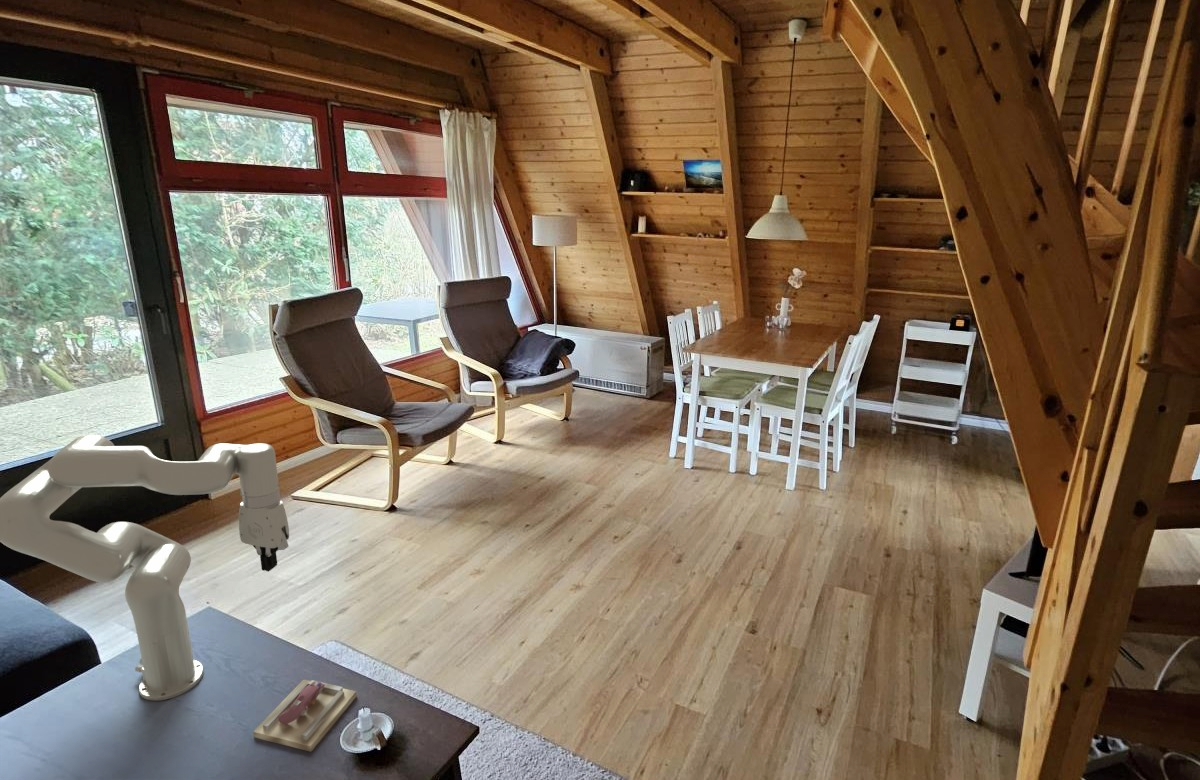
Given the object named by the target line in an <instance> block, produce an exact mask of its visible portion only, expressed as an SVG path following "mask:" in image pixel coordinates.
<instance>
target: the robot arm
mask: <svg viewBox="0 0 1200 780" xmlns="http://www.w3.org/2000/svg"><path fill="white" fill-rule="evenodd" d="M277 468H278V466H277V459H276V450H275V449H274V447H273V446H272V445H271V444H269V443H264V442H263V443H261V442H258V443H252V444H251V443H250V444H239V443H237V444H236V443H227V442H226V443H225V442H224V443H223V442H221V443H215V444H213V445H210V446H209V447H207V449H206V450H204V452H203V454H201V456H200V457H199V458H198V460H195V461H194V460H193V461H173V460H172V461H171V460H165V459H161V458H159V457H157V456H155V455H154V454H153V451H152V450H151V449H150V448H149V447H147V446H145V445H115V444H114V443H113V441H111V440H109V438H106V436H101V435H98V434H97V435H96V434H87V435H82V436H80V437H77V438H74V439H73V440H72V441H70V442H69V443H68V444H67V445H65V446H64V447H62V448H61V449H60V450H58V451H57V453H55V454H54V455H53V456H52V458H51V459H49V460H48V461H47V462H45V463H44V464H43V465H42V466H40V467H38V468H37V469H36V470H34V471H33V472H32V473H31V474H29V475H28V476H27V477H25V478H24V479H22V480H21V481H20V482H19V483H17V484H15V485H14V486H13V487H12V488H10V489H9V490H8V491H7V492H5V493H4V494H3V495H2V496H1V497H0V543H1V544H3V545H4V546H6V547H7V548H10V549H11V550H13V551H16V552H18V553H21V554H24V555H28V556H31V557H33V558H37V559H39V560H43V561H45V562H47V563H50V564H51V565H54V566H57V567H59V568H61V569H63V570H66V571H68V572H70V573H73V574H75V575H78V576H81V577H82V578H85V579H87V580H90V581H93V582H96V583H99V584H100V583H101V584H108V583H111V582H114V581H116V580H118V579H119V578H121V577H122V576H123V575H124V574H125V573H126V571H127V570H128V569H129V567H130V566H132V567H135V569H134V571H133V572H132V573H131V575H130V576H129V578H128V580H127V583H126V586H125V588H124V589H125V590H124V596H125V597H124V598H125V602H126V603H127V606H128V608H129V610H130V612H131V615H132V617H133V618H132V619H133V621H134V622H133V623H134V627H135V630H136V636H137V640H138V641H137V642H138V645H139V646H138V647H139V651H140V656H141V657H140V659H139V664H138V665H136V666H135V669H134V671H135V672H137V673H142V679H141V681H140V683H139V686H138V691H139V695H140V696H141V697H142V698H143V699H145V700H147V701H155V702H156V701H166V700H169V699H173V698H176V697H178V696H181V695H182V694H185V693H186V692H188V691H190V690H191V689H192V688H193V687H195V686H196V685H198V683H199V682H200V681H201V679H202V678H203V675H204V667H203V664H202V663H201V662H200V661H198V660H195V659H194V654H193V647H192V641H191V635H190V630H189V623H188V617H187V613H186V607H185V605H184V602H183V600H182V598H181V596H180V586H181V584H182V582H183V580H184V578H185V576H186V574H187V572H188V571H189V568H190V566H191V561H192V560H191V559H192V557H191V554H190V552H189V550H188V549H187V548H186V547H185V546H183V545H182V544H181V543H179V542H177V541H175V540H173V539H171V538H169V537H166V536H164V535H162V534H160V533H158V532H156V531H153V530H151V529H149V528H147V527H145V526H143V525H142V524H138V523H134V522H131V521H130V522H129V521H116V522H115V521H114V522H111V523H109V524H108V523H107V524H105V526H103V527H101V528H100V529H99V530H98V531H97V532H95V531H93V530H89V529H88V528H85V527H84V526H81V525H80V524H76V523H73V522H70V521H63V520H53V519H50V516H51V514H53V513H54V512H55V511H56V510H57V509H58V508H59V507H60V506H62V505H63V504H65V503H66V501H67V500H68V499H69V498H70V497H72V496H74V494H75V493H76V492H78V491H80V490H81V489H82V488H101V487H103V488H104V487H144V488H146V489H148V490H151V491H154V492H158V493H161V494H166V495H174V496H183V495H184V496H188V495H189V496H190V495H194V496H195V495H206V494H213V493H216V492H219V491H221V490H223V489H225V488H226V487H227V486H228V485H229V484H230V482H231V481H232V478H233V477H234V476H235V475H238V476H239V484H240V490H239V495H240V496H241V499H242V501H241V502H240V505H239V511H238V530H239V540H240V541H241V542H242V543H244V544H247V545H250V546H252V547H254V549H255V551H256V554H257V555H258V556H260V557H259V558H260V559H259V560H260V567H261V571H263V572H270V571H271V570H273V569H274V568H276V567H277V565H278V557H277V552H278V551H284V550H286V549H288V548H289V543H288V540H289V539H290V526H289V522H288V521H289V520H288V517H287V513H286V509H285V505H284V502H283V501H282V500H281V495H280V486H279V476H278V469H277Z"/></svg>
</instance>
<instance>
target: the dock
mask: <svg viewBox="0 0 1200 780" xmlns="http://www.w3.org/2000/svg"><path fill="white" fill-rule="evenodd" d="M314 681H315V680H313V679H311V680H308V679H302V680H301V681H300V682H299V683H298V684H297V686H296V687H295V688H293V690H291V691H290V693H289V694H288V695H287V696H286V697H285V698H284V699H283V700H282V701H281V702H280V703H279V704H278V705H277V706H276V708H274V710H273V711H271V712H270V714H269V715H268V716H267V717H266V718H265V719H264V720H263V721H262V722H261V723H260V724H259V725H258V726H257V727H256V728H255V729H254V730H253V731H252V732H253V733H252V734H253V738H255V739H258V740H263V741H267V742H272V743H275V744H278V745H283V746H287V747H291V748H295V749H298V750H303V751H307V752H311V753H312V751H313V750H314V749H315V748H316V747H317V745H318V744H319V743H320V742H321V741H322V739H324V737H325V735H326V734H327V733H328V732H329V731H330V730H331V729H332V727H333V726H334V725H335V724H336V722H337V721H338V720H339V719H340V718H341V716H342V715H343V714H344V712H345V711H346V710H347V709H348V708H349V706H350V705H352V703H353V702H354V700H355V699H356V698H357V690H352V689H347V688H343V686H341V685H340V686H339V685H335V684H331V683H326V682H322V681H320V682H321V683H323V684H324V685H325V686H324V688H323V690H322V691H321V693H320V694H319V695H318V696H317V698H316V699H315V701H314V702H315V703H314V704H313V705H311V706H310V707H306V708H307V709H306V713H305V715H303V716H301V717H300V718H298V719H296V720H294V721H293V722H291V723H288V724H282V723H280V722H279V720H278V718H279V716H280V715H281V714H282V713H284V712H285V711H287V710H288V709H289V708H290V707H291V705H292V704H293V703H294V701H295V700H296V699H297V698H298V696H299V694H300V692H301V691H302V690H303V689H305V687H307V686H308V685H310V684H311V683H312V682H314Z"/></svg>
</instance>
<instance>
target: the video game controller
mask: <svg viewBox="0 0 1200 780" xmlns="http://www.w3.org/2000/svg"><path fill="white" fill-rule="evenodd" d="M321 682H322V681H319V680H318V681H317V680H314V682H312V683H311V684H310V685H308V686H307V687H305V689H303V690H302V691H301V692H300V694H299V696H298V698H297V699H296V700H295V701H294V703H293V704H292V705H291V707H290V708H289V709H288V710H287V711H285V712H284V713H282V714H281V715H280V716H279V718H278V720H279V722H280V723H282V724H288V723H291V722H293V721H294V720H296V719H298V718H300V717H301V716H303V715H305V713H306V709H307V708H306V707H310V706H311V705H313V704H314V703H315V702H314V701H315V699H316V698H317V696H318V695H319V694H320V693H321V691H322V690H323V688H324V686H325V685H324V684H323V683H324V682H323V683H321Z"/></svg>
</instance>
